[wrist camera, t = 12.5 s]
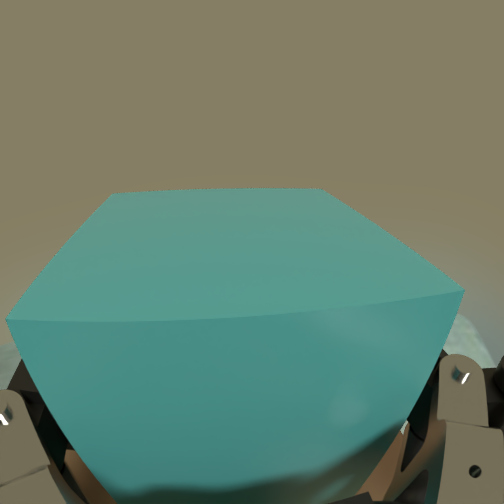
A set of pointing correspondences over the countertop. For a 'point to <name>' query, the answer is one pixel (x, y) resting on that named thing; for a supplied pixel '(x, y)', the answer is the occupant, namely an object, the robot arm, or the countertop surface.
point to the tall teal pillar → (232, 344)
